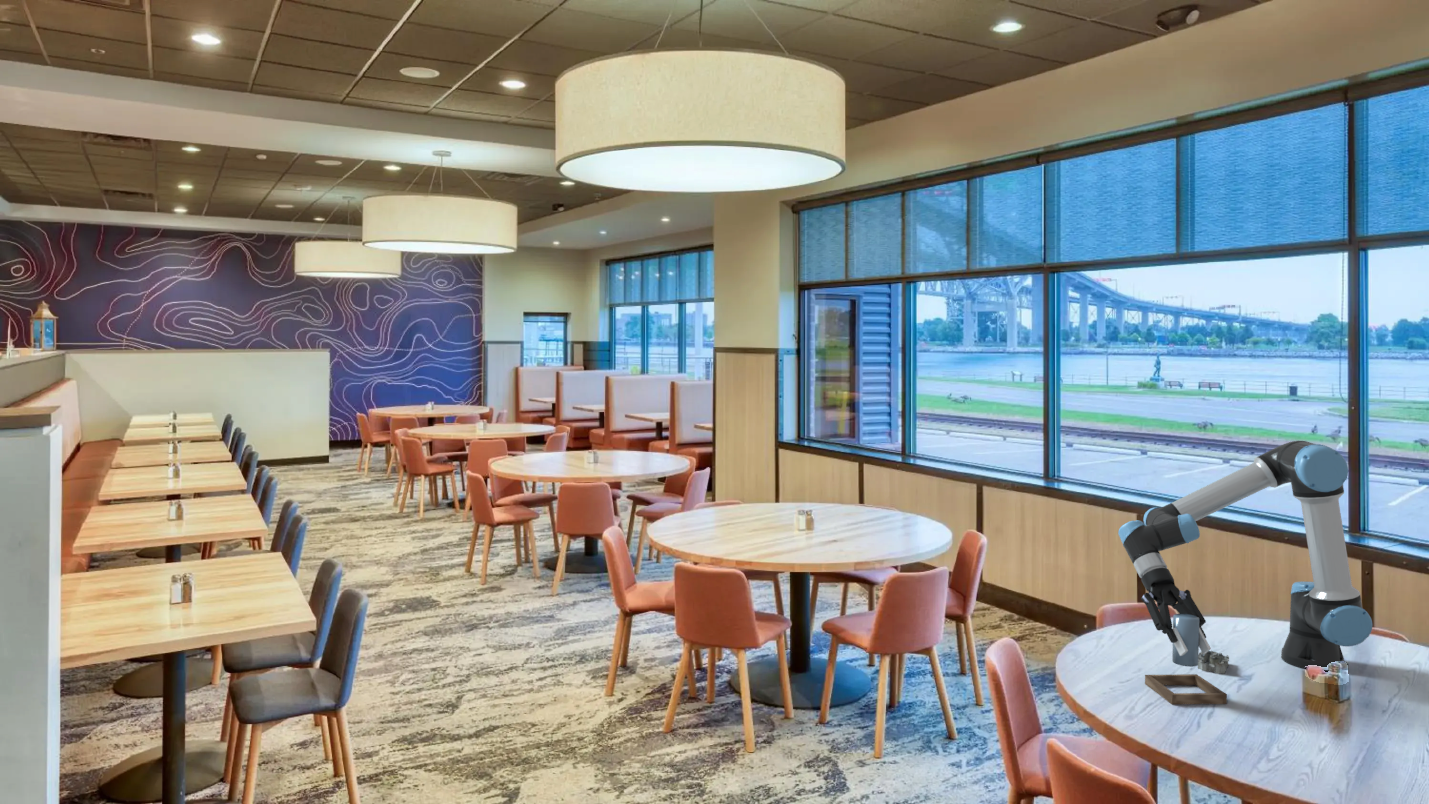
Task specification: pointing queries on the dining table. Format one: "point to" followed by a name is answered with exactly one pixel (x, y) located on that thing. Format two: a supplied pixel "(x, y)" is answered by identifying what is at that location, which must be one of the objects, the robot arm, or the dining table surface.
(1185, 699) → the wooden square frame
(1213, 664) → the egg carton
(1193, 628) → the slate jar
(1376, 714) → the dining table surface
